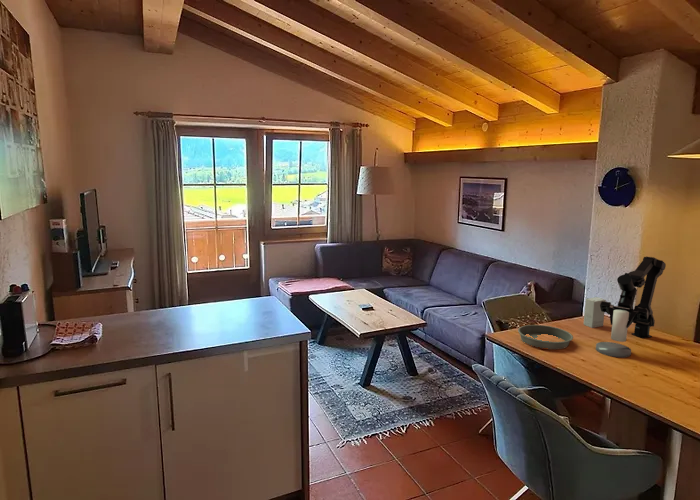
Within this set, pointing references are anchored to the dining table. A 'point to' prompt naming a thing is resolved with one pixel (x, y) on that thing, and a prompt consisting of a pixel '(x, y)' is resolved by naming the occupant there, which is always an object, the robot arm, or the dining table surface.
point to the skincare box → (593, 312)
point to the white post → (619, 325)
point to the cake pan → (542, 329)
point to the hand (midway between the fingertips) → (619, 325)
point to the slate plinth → (613, 349)
